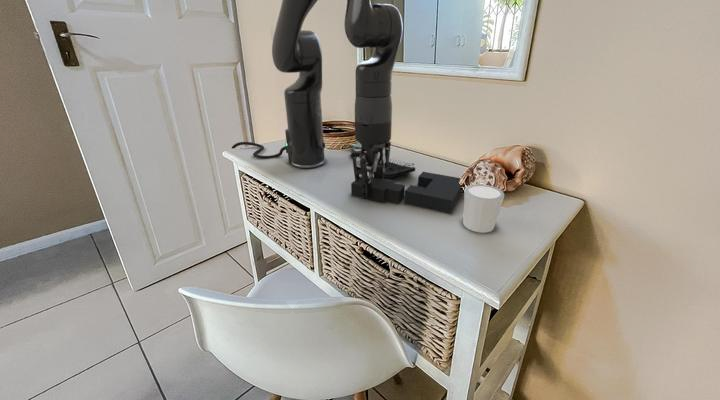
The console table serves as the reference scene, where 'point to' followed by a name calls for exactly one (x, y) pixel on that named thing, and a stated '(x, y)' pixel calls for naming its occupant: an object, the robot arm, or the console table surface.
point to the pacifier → (356, 146)
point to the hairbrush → (392, 167)
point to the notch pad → (434, 192)
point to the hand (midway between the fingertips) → (372, 192)
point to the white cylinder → (481, 207)
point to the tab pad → (381, 190)
